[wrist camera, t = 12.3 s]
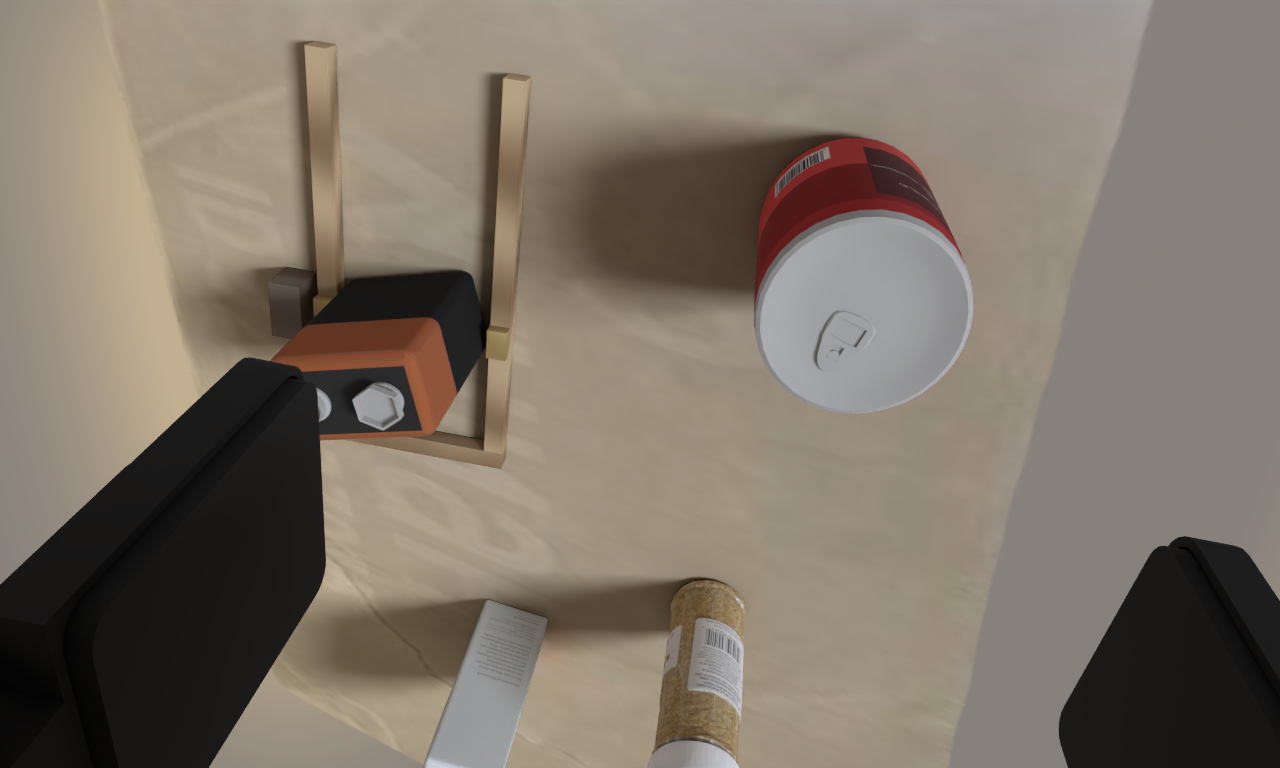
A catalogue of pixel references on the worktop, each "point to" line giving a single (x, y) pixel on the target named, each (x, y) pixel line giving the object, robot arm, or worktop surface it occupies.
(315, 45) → the track
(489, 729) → the skincare box
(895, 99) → the worktop surface
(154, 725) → the robot arm
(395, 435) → the battery
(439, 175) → the worktop surface
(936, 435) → the worktop surface
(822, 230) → the canned food
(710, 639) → the sprinkles bottle
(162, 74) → the worktop surface
